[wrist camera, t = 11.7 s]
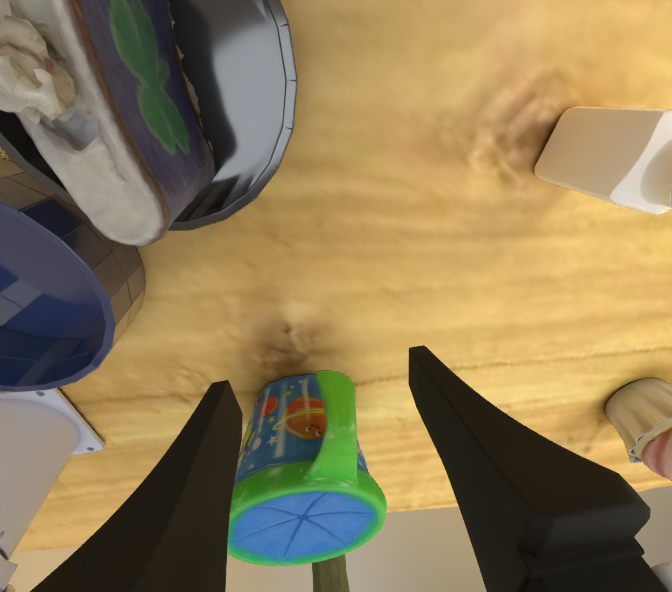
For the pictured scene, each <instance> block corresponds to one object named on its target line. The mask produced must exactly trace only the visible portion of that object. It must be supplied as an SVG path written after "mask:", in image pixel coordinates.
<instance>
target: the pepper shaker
mask: <svg viewBox="0 0 672 592" xmlns="http://www.w3.org/2000/svg"><path fill="white" fill-rule="evenodd" d="M534 173H535V174H536V175H537V177H538V178H539V179H541V180H544V181H547V182H550V183H553V184H556V185H559V186H562V187H565V188H568V189H571V190H574V191H577V192H580V193H583V194H586V195H589V196H592V197H595V198H599V199H602V200H605V201H608V202H611V203H614V204H617V205H621V206H625V207H628V208H632V209H636V210H639V211H643V212H647V213H651V214H655V215H659V214H661V213H664V212H666V211H667V210H669V209H671V208H672V109H646V108H617V107H588V106H577V107H572V108H569V109H567V110H566V111H565V112H564V113H563V114H562V116H561V117H560V119H559V121H558V123H557V125H556V127H555V129H554V131H553V133H552V135H551V137H550V139H549V140H548V142H547V144H546V146H545V148H544V150H543V152H542V154H541V156H540V158H539V160H538V162H537V164H536V166H535V170H534Z"/></svg>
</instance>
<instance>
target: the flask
mask: <svg viewBox="0 0 672 592" xmlns="http://www.w3.org/2000/svg"><path fill="white" fill-rule="evenodd" d="M173 24H175V21H173V20H172V16H171V12H170V8H169V2H168V0H0V110H3V111H5V112H14V113H15V114H16V115H17V117H18V118H19V119H20V121H21V123H22V125H23V127H24V129H25V131H26V132H27V133H28V135H29V136H30V137H31V138H32V140H33V141H34V143H35V145H36V147H37V149H38V151H39V153H40V154H41V155H42V157H43V158H44V159H45V161H46V162H47V163H48V164H49V166H50V167H51V168H52V170H53V171H54V172H55V174H56V175H57V176H58V178H59V179H60V180H61V182H62V183H63V185H64V186H65V188H66V189H67V191H68V192H69V194H70V195H71V197H72V198H73V200H74V201H75V203H76V204H77V205H78V207H79V208H80V209H81V210H82V211H83V212H84V213H85V214H86V215H87V216H88V217H89V219H90V220H91V222H92V223H93V225H94V226H95V227H96V228H97V229H98V230H99V231H100V232H101V233H102V234H103V235H105V236H106V237H107V238H109V239H110V240H113V241H116V242H118V243H120V244H125V245H131V246H146V245H149V244H152V243H154V242H156V241H158V240H160V239H161V238H163V237H164V236H165V235H166V233H167V232H168V230H169V228H170V226H171V224H172V223H173V221H174V220H175V219H176V218H177V217H178V216H179V215H180V213H181V212H182V211H183V210H184V209H185V208H186V207H187V205H188V204H190V203H191V202H192V201H193V199H194V198H195V197H196V196H197V195H198V194H199V193H200V192H201V191H202V190H203V189H204V188H205V187H206V186H208V185H209V183H210V182H211V181H212V179H213V178H214V175H215V172H216V171H215V164H214V157H213V152H212V149H213V147H212V146H211V143H210V141H207V139H206V137H205V135H204V132H203V128H202V124H201V123H200V122H201V118H200V115H199V114H200V109H199V106H198V97H197V96H196V94H195V92H194V87H193V86H192V85H191V82H188V78H187V77H186V75H185V74H184V72H183V71H182V67H181V61H180V60H181V59H182V58H183V57H184V55H183V54H182V53H181V52H180V49H179V48H178V46H177V44H176V43H175V39H174V36H173Z"/></svg>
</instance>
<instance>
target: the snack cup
mask: <svg viewBox="0 0 672 592" xmlns="http://www.w3.org/2000/svg"><path fill="white" fill-rule="evenodd" d="M386 509H387V503H386V499H385V496H384V494H383V492H382V490H381V488H380V487H379V486H378V484H377V483H376V482H375V480H374V479H373V478H372V477H371V476H370V474H369V472H368V469H367V466H366V462H365V459H364V456H363V454H362V451H361V449H360V446H359V442H358V440H357V426H356V415H355V387H354V384H353V382H352V380H351V379H350V378H349V377H348V376H346V375H344V374H342V373H339V372H334V371H329V370H323V371H319V372H317V373H316V375H313V374H308V375H305V376H291V377H287V378H282V379H280V380H278V381H276V382H270V383H269V384H268V385H266V386H265V387H264V389H263V391H262V392H261V394H259V395H258V397H257V399H256V401H255V404H254V407H253V409H252V413H251V416H250V420H249V423H248V427H247V430H246V434H245V437H244V440H243V444H242V447H241V451H240V454H239V458H238V465H237V470H236V476H235V482H234V488H233V494H232V500H231V508H230V518H229V532H228V546H227V554H229V555H230V556H232V557H234V558H236V559H239V560H242V561H245V562H248V563H253V564H258V565H266V566H291V565H301V564H307V563H314V562H319V561H323V560H327V559H330V558H334V557H337V556H340V555H342V554H345V553H347V552H350V551H352V550H354V549H356V548H358V547H360V546H361V545H363V544H365V543H366V542H367V541H369V540H370V539H372V538H373V537H374V536H375V535H376V534H377V533H378V531H379V530H380V529H381V527H382V526H383V523H384V520H385V512H386Z"/></svg>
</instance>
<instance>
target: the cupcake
mask: <svg viewBox="0 0 672 592" xmlns="http://www.w3.org/2000/svg"><path fill="white" fill-rule="evenodd" d="M605 412H606V416H607V417H608V419H609V420H610V422H611V423H612V425H613V426H614V428H615V429H616V430H617V432H618V434H619V435H620V437H621V438H622V440H623V442H624V444H625V447H626V450H627V453H628V456H629V459H630V462H631V463H637V462H643V463H644V465H646V466H647V467H648V468H649V469H650V470H652V471H653V472H655V473H656V474H658V475H660V476H662V477H666V478H668V479H670V480H671V481H672V385H670V384H668V383H666V382H664V381H662V380H660V379H655V378H646V379H641V380H638V381H635V382H633V383H630V384H628V385H627V386H625V387H623V388H622V389H620V390H619V391H617V392H616V393H615V394H614V395H613V396H612V397H611V398H610V399H609V401H608V402H607V404H606V406H605Z"/></svg>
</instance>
